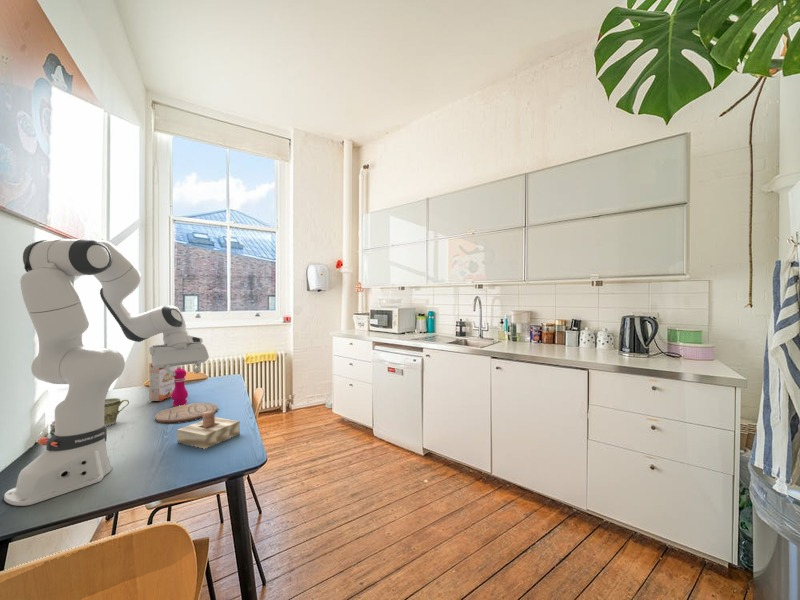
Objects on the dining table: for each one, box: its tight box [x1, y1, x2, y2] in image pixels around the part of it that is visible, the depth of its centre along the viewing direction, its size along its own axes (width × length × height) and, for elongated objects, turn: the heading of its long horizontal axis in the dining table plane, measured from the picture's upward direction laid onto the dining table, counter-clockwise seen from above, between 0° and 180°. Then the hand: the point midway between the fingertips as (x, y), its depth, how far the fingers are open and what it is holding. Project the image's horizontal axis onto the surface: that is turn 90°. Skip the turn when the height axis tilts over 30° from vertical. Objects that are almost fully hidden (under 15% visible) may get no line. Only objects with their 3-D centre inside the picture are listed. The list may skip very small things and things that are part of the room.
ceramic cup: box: [104, 397, 130, 427], centre depth 152 cm, size 13×10×10 cm
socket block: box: [176, 416, 241, 450], centre depth 133 cm, size 15×15×5 cm
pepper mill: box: [170, 365, 189, 407], centre depth 178 cm, size 7×7×20 cm
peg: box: [202, 411, 216, 429], centre depth 132 cm, size 4×4×10 cm
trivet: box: [154, 402, 219, 424], centre depth 163 cm, size 25×25×2 cm
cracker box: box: [148, 362, 177, 402], centre depth 190 cm, size 14×6×21 cm, turn 179°
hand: (185, 374), depth 138 cm, fingers open, 8 cm apart
